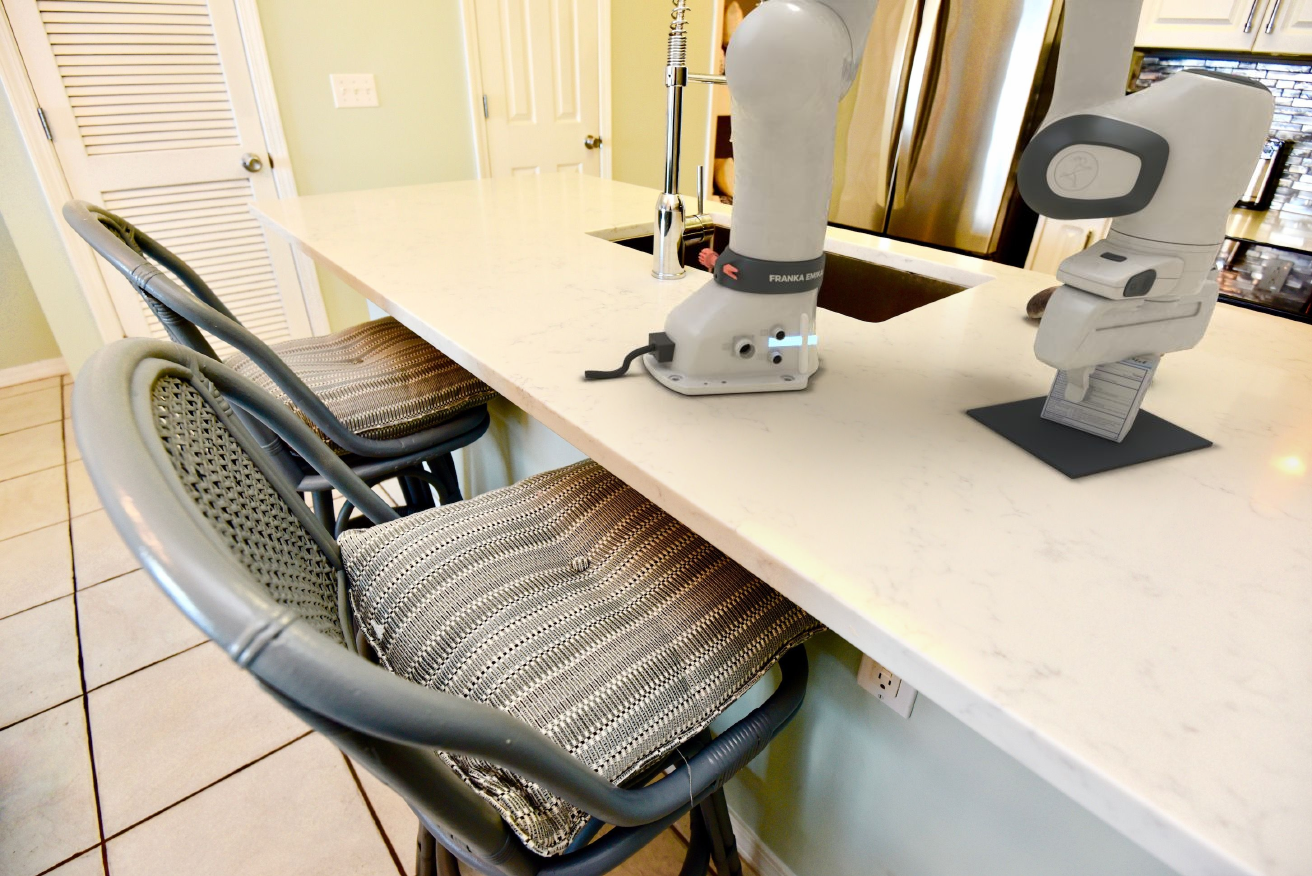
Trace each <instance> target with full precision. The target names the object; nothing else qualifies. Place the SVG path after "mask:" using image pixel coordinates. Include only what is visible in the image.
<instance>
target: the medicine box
mask: <svg viewBox="0 0 1312 876" xmlns="http://www.w3.org/2000/svg"><path fill="white" fill-rule="evenodd" d="M1161 360H1162V357H1159V356H1156V355H1148V356H1142V357H1136V358H1132V359H1127V360H1123V361H1119V362H1113V363H1107V364H1101V365H1096V368H1095V370H1094V373H1092V374H1089V385H1091V386H1093V387H1094V388H1093V391H1092V393H1091V394H1090V398H1089V400H1087V401H1083V402H1078V403H1074V402H1072V401H1070V400H1068V399H1066V397H1065V391H1066V388H1067V385H1068V383H1069V382H1068V378H1067V373H1066V371H1061V370H1058V369H1056V372H1055V375H1054V377H1053V380H1052V383H1051V386H1050V389H1049V392H1048V394H1047V396H1048V397H1047V400H1046V403H1045V405H1044V408H1043V411H1042V413H1041V417H1042V418H1045V419H1048V420H1051V421H1054V422H1057V423H1060V424H1063V425H1066V426H1070V427H1073V428H1076V429H1079V430H1082V431H1085V432H1088V433H1091V434H1094V435H1097V436H1100V437H1103V438H1106V439H1109V440H1112V441H1116V442H1118V443H1120V442H1121V441H1122V440H1123V438H1124V437H1125V435H1126V434H1127V433H1128V431H1129V430H1130V428H1131V426H1132V424H1133V422H1134V420H1135V417H1136V415H1137V413H1138V410H1139V408H1141V406H1142V403H1143V401H1144V400H1145V396H1146V394H1147V392H1148V390H1149V388H1150V385H1151V382H1152V381H1153V378H1154V376H1155V374H1156V371H1157V369H1158V367H1159V364H1160V363H1161Z"/></svg>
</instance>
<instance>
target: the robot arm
mask: <svg viewBox="0 0 1312 876" xmlns="http://www.w3.org/2000/svg"><path fill="white" fill-rule="evenodd" d="M879 1H880V0H766V1H763V2H762V3H761V4H760V5H757V6H756V7H755V8H754V9H752V10H751V11H750V12H749V13H747V15H746V16H745V17H744V18H742V20H741V21H740V22H739V24H738V25H737V26H736V27H735V29H734V31H733V33H732V35H731V37H730V39H729V42H728V44H727V48H726V52H725V57H724V76H725V81H726V85H727V87H728V90H729V97H730V98H729V99H730V101H729V103H730V104H729V105H730V127H731V141H732V155H733V178H734V179H733V192H732V207H731V219H730V231H729V241H728V242H729V243H728V244H727V245H726V247H725V249H724V250H723V251H722V252H721V253H720V254H718V253H717V252H716V251H714V250H712V249H711V248H708V247H707V248H703V249H701V252H699V254H698V255H699V256H698V261H699V262H700V264H701V265H703V266H705V267H706V268H708V269H713V274H712V278H711V279H710V280H708V281H707V282H706V283H704V284H703V285H702V286H701V287H699V288H698V289H697V290H695V292H693V293H692V294H691V295H689V296H688V297H687V298H685V299H684V300H682V301H681V302H680V303H678V304H677V305H675V306H674V307H673V308H672V309H671V310H670V311H669V313H668V314H667V316H666V319H665V321H664V325H663V328H662V331H658V332H649V333H648V344H647V345H644V346H641V347H640V346H639V347H638V348H635V349H633V350H632V351H630V352H629V353H627V355H626V356H625V357H624V359H623V360H622V365H621V366H620V367H618V368H617V369H613V370H594V369H593V370H592V369H589V370H584V377H585V379H615V378H619V377H621V376H623V375H625V374H626V373H627V372H628V371H629V370H630V367H631V363H632V362H633V361H634V360H635V359H637V358H639V357H641V356H643V358H642V361H643V363H644V366H645V367H646V369H647V370H648V372H649V373H650V374H651V376H653V377H654V378H655V379H656V380H657V381H658V382H659V383H661V384H662V385H663V386H665V387H667V388H669V389H670V390H672V391H674V392H677V393H680V394H683V395H687V396H688V395H689V396H694V395H695V396H696V395H715V394H718V395H719V394H737V393H738V394H739V393H758V392H760V393H761V392H777V391H778V392H781V391H797V390H803V389H806V388H807V387H808V382H809V378H810V377H811V376H812V375H813V374H815V373H816V372H817V370H818V369H819V366H820V363H819V357H818V347H817V342H818V335H817V303H818V295H819V292H820V289H821V287H822V284H823V281H824V275H825V264H826V257H827V256H826V252H825V251H824V248H825V241H826V234H827V228H828V221H829V215H830V209H831V202H832V195H833V188H834V181H835V180H834V162H835V148H836V145H835V144H836V134H837V121H838V110H839V104H840V103H841V102H842V100H844V99H845V97H846V96H847V95H848V93H849V92H850V90H851V88H852V87H853V85H854V83H855V80H856V78H857V76H858V71H859V68H860V66H861V62H862V59H863V55H864V52H865V49H866V46H867V42H868V40H869V36H870V33H871V29H872V26H873V23H874V19H875V15H876V12H877V9H878V6H879ZM1143 4H1144V0H1064V14H1063V15H1064V17H1063V24H1062V32H1061V37H1060V45H1059V54H1058V59H1057V66H1056V67H1057V68H1056V73H1055V80H1054V87H1053V93H1052V96H1051V100H1050V103H1049V105H1048V109H1047V112H1046V113H1045V116H1044V117H1043V119H1042V121H1041V122H1040V124H1039V125H1038V127H1037V128H1036V130H1035V131H1034V134H1033V135H1032V137H1031V139H1030V141H1029V142H1028V144H1027V145H1026V147H1025V149H1024V150H1023V152H1022V154H1021V157H1020V158H1019V161H1018V166H1017V172H1016V181H1017V187H1018V192H1019V195H1021V198H1022V199H1023V201H1024V203H1025V204H1026V205H1027V206H1028V207H1029V208H1030V209H1031V210H1032V211H1034V212H1035V213H1037V214H1038V215H1040V216H1043V217H1045V218H1047V219H1052V220H1056V221H1078V220H1098V219H1109V218H1111V219H1112V220H1111V224H1110V226H1109V228H1108V231H1107V235H1106V237H1105V238H1101V239H1099V240H1098V241H1096V242H1094V243H1093V244H1092V245H1089V246H1088V247H1087V248H1085V249H1082V250H1081V251H1079V252H1076V253H1074V254H1072V255H1070V256H1068V257H1066V258H1064V259H1063V260H1061V262H1060V263H1059V265H1058V268H1057V270H1056V273H1055V280H1056V281H1058V282H1059V283H1060V282H1061V283H1062V284H1061V285H1059V286H1060V287H1058V288H1057V289H1056V290H1055V291H1054V292H1053V294H1052V295H1051V297H1050V299H1049V301H1048V303H1047V305H1046V308H1045V311H1044V313H1043V316H1042V318H1040V322H1039V325H1038V328H1037V331H1036V335H1035V337H1034V338H1035V339H1034V342H1033V353H1034V356H1035V358H1036V360H1037V361H1039V362H1041V363H1043V364H1045V365H1047V366H1048V367H1051V368H1054V369H1056V370H1057V369H1058V370H1061V371H1066V373H1067V378H1068V382H1069V383H1068V385H1067V388H1066V391H1065V397H1066V399H1068V400H1070V401H1072V402H1074V403H1078V402H1083V401H1087V400H1089V398H1090V394H1091V393H1092V391H1093V388H1094V387H1093V386H1091V385H1089V374H1092V373H1094V370H1095V368H1096V365H1101V364H1107V363H1113V362H1119V361H1123V360H1127V359H1132V358H1136V357H1142V356H1148V355H1156V356H1159V357H1160V355H1161V354H1164V355H1165V354H1171V353H1176V352H1182V351H1187V350H1193V349H1194V348H1195V347H1196V346H1197V345H1198V344H1200V343H1201V341H1202V340H1203V339H1204V336H1205V334H1206V332H1207V329H1208V327H1209V324H1210V322H1211V319H1212V317H1213V313H1214V311H1215V308H1216V305H1217V302H1218V300H1219V299H1218V298H1219V295H1220V284H1219V283H1218V282H1217V281H1218V278H1219V276H1220V274H1221V273H1220V269H1219V268H1218V264H1217V261H1216V258H1217V257H1218V254H1219V251H1220V250H1221V247H1222V246H1223V242H1224V240H1225V238H1226V234H1227V225H1228V224H1227V223H1228V219H1229V217H1230V215H1231V212H1232V210H1233V209H1234V207H1235V205H1236V204H1237V203H1238V201H1239V200H1240V199H1241V198H1242V197H1243V196H1244V194H1245V193H1246V191H1247V189H1248V187H1249V185H1250V182H1251V180H1252V178H1253V176H1254V173H1255V171H1256V168H1257V166H1258V164H1259V162H1260V158H1261V157H1262V155H1263V151H1264V148H1265V145H1266V142H1267V139H1268V137H1269V133H1270V130H1271V128H1272V123H1273V119H1274V116H1275V109H1276V99H1275V96H1274V95H1273V92H1272V90H1270V88H1269V87H1268V86H1266V84H1264V83H1262V82H1261V81H1259V80H1257V79H1253V78H1252V79H1251V78H1249V77H1246V76H1241V75H1237V74H1232V73H1227V72H1224V71H1223V72H1222V71H1218V70H1211V69H1208V68H1201V67H1199V68H1197V67H1192V68H1191V67H1190V68H1185V69H1180V70H1178V71H1177V72H1175V73H1174V74H1173V75H1171V76H1169V77H1167V78H1166V79H1164V80H1161V81H1160V82H1157V83H1155V84H1153V85H1150V86H1148V87H1146V88H1143V89H1141V90H1139V91H1136V92H1132V93H1130V94H1128V95H1127V84H1128V79H1129V73H1130V69H1131V63H1132V58H1133V53H1134V48H1135V43H1136V38H1137V33H1138V28H1139V23H1140V19H1141V14H1142V10H1143V9H1142V8H1143ZM1160 358H1161V357H1160Z"/></svg>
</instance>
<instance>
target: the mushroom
mask: <svg viewBox="0 0 1312 876" xmlns="http://www.w3.org/2000/svg"><path fill="white" fill-rule="evenodd" d="M1060 286H1061V285H1055V286H1051V287H1048V288H1045V289H1042V290H1040V291H1039V292H1037V293H1036V294H1034V295H1033V296H1031V298H1030V299H1029V300H1028V301H1027V304H1026V306H1025V307H1026V308H1025V310H1026V314H1027V315H1028V316H1029V317H1030V318H1031V319H1042V316H1043V313H1044V311H1045V308H1046V305H1047V303H1048V301H1049V299H1050V297H1051V295H1052V294H1053V292H1054V291H1055V290H1056V289H1057V288H1058V287H1060Z"/></svg>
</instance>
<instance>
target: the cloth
mask: <svg viewBox="0 0 1312 876" xmlns="http://www.w3.org/2000/svg"><path fill="white" fill-rule="evenodd" d="M1047 397H1048V395H1043V396H1038V397H1033V398H1026V399H1020V400H1015V401H1010V402H1005V403H1004V402H1003V403H998V404H993V405H987V406H981V407H976V408H975V407H974V408H970V409H966V411H965V413H966V414H967V415H968V416H970V417H971V418H973V419H975V420H976V421H978V422H980V423H982V424H983V425H985V426H986V427H988V428H989V429H991V430H992V431H994V432H996V433H998V434H999V435H1001V436H1002V437H1004V438H1005V439H1007V440H1009V441H1011V442H1012V443H1014V444H1016V445H1017V446H1019V447H1021V448H1022V449H1023V450H1025V451H1026V452H1028V453H1030V454H1032V455H1033V456H1035V457H1037V458H1038V459H1039V460H1042V461H1043V462H1044V463H1046V464H1048V465H1049V466H1051V467H1052V468H1054V469H1056V470H1057V471H1059V472H1061V473H1063V474H1064V475H1066V476H1068V478H1071V479H1076V478H1080V477H1085V476H1089V475H1093V474H1098V473H1103V472H1106V471H1110V470H1114V469H1115V470H1116V469H1118V468H1123V467H1127V466H1131V465H1137V464H1141V463H1145V462H1148V461H1153V460H1158V459H1161V458H1166V457H1170V456H1174V455H1179V454H1183V453H1187V452H1191V451H1195V450H1200V449H1204V448H1208V447H1212V446H1213V445H1214V441H1211V440H1209V439H1207V438H1204V437H1202V436H1200V435H1198V434H1197V433H1194V432H1192V431H1189V430H1188V429H1185V428H1183V427H1182V426H1179V425H1177V424H1175V423H1172V422H1171V421H1168V420H1166V419H1164V418H1162V417H1160V416H1158V415H1156V414H1153V413H1152V412H1149V411H1148V410H1145V409H1143V408H1141V407H1140V408H1139V410H1138V413H1137V415H1136V417H1135V420H1134V422H1133V424H1132V426H1131V428H1130V430H1129V431H1128V433H1127V434H1126V435H1125V437H1124V438H1123V440H1122V441H1121V442H1120V443H1118V442H1116V441H1112V440H1109V439H1106V438H1103V437H1100V436H1097V435H1094V434H1091V433H1088V432H1085V431H1082V430H1079V429H1076V428H1073V427H1070V426H1066V425H1063V424H1060V423H1057V422H1054V421H1051V420H1048V419H1045V418H1042V417H1041V413H1042V411H1043V408H1044V405H1045V403H1046V400H1047Z"/></svg>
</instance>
